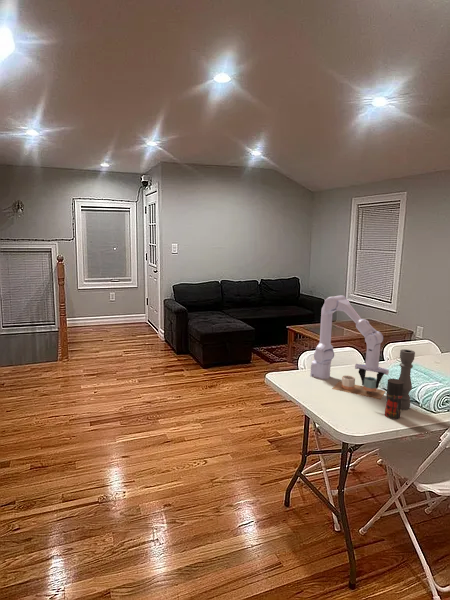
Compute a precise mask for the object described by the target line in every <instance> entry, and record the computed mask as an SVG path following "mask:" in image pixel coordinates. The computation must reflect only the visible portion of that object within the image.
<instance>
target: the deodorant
mask: <svg viewBox="0 0 450 600" xmlns="http://www.w3.org/2000/svg"><path fill="white" fill-rule="evenodd" d="M398 379H399V378H388V379H387V384H386V397H385V405H384V408H385V409H384V416H385V418H387V419H391V420H399V419H401V413H402V410H401V404H402V394H403V384H404V382H403V381H401V380H398Z"/></svg>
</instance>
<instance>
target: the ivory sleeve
mask: <svg viewBox="0 0 450 600" xmlns="http://www.w3.org/2000/svg"><path fill="white" fill-rule="evenodd" d="M341 382H342V386H341V387H342V388H343V389H347V390H353V389H354V388H355V385H356V377H355V376H352V375H342V377H341Z"/></svg>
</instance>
